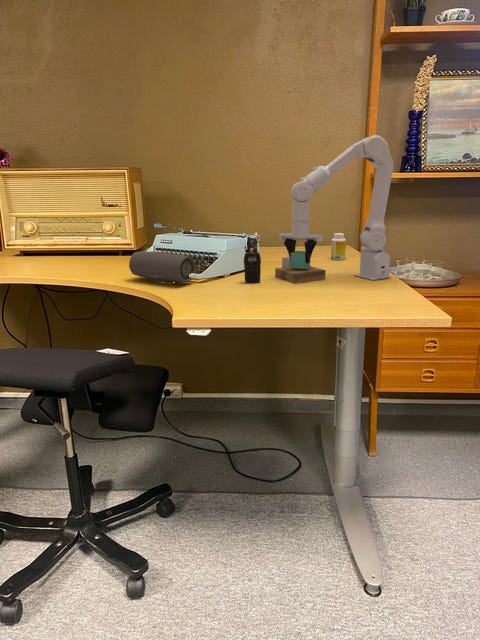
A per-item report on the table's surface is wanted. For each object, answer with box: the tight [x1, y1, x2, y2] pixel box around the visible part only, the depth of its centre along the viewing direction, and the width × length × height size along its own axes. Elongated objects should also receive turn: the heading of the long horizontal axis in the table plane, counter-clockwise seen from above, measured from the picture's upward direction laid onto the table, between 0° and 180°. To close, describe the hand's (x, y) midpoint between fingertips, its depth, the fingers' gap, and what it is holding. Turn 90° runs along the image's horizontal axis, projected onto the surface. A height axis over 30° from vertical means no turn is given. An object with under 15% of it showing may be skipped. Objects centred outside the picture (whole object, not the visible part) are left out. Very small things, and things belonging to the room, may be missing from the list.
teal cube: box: [290, 250, 311, 269], centre depth 157 cm, size 5×5×5 cm
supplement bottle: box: [330, 232, 347, 261], centre depth 189 cm, size 6×6×10 cm
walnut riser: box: [274, 265, 327, 284], centre depth 158 cm, size 12×12×3 cm
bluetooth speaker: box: [128, 251, 197, 284], centre depth 157 cm, size 23×9×10 cm, turn 56°
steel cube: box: [281, 256, 291, 268], centre depth 169 cm, size 5×5×5 cm
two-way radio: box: [243, 235, 262, 284], centre depth 153 cm, size 6×4×15 cm
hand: (300, 262), depth 157 cm, fingers closed on teal cube, 5 cm apart
